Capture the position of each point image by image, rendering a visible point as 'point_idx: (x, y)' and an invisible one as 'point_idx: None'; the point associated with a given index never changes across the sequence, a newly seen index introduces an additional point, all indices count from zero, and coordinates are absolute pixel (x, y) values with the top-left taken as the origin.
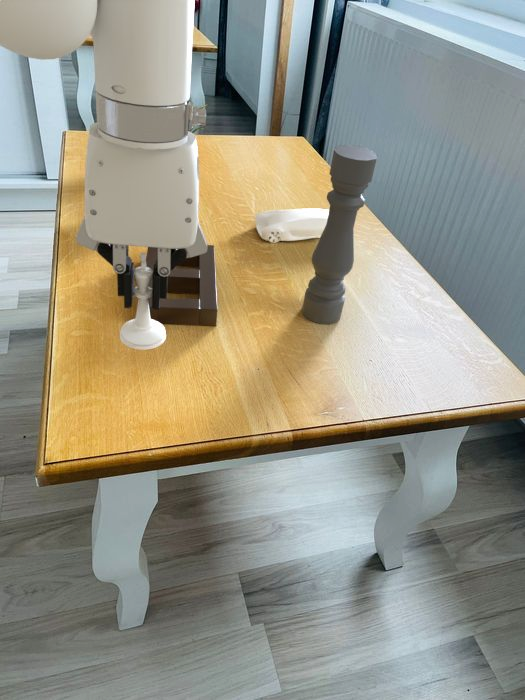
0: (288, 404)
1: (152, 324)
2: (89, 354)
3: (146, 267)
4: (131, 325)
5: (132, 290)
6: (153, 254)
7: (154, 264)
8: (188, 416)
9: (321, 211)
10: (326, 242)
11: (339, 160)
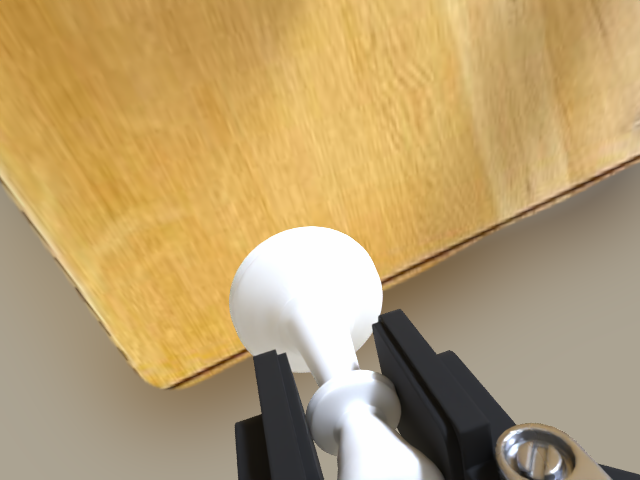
0: (573, 114)
1: (350, 319)
2: (45, 59)
3: None
4: (272, 322)
5: (314, 449)
6: None
7: (449, 451)
8: (372, 213)
9: None
10: None
11: None
